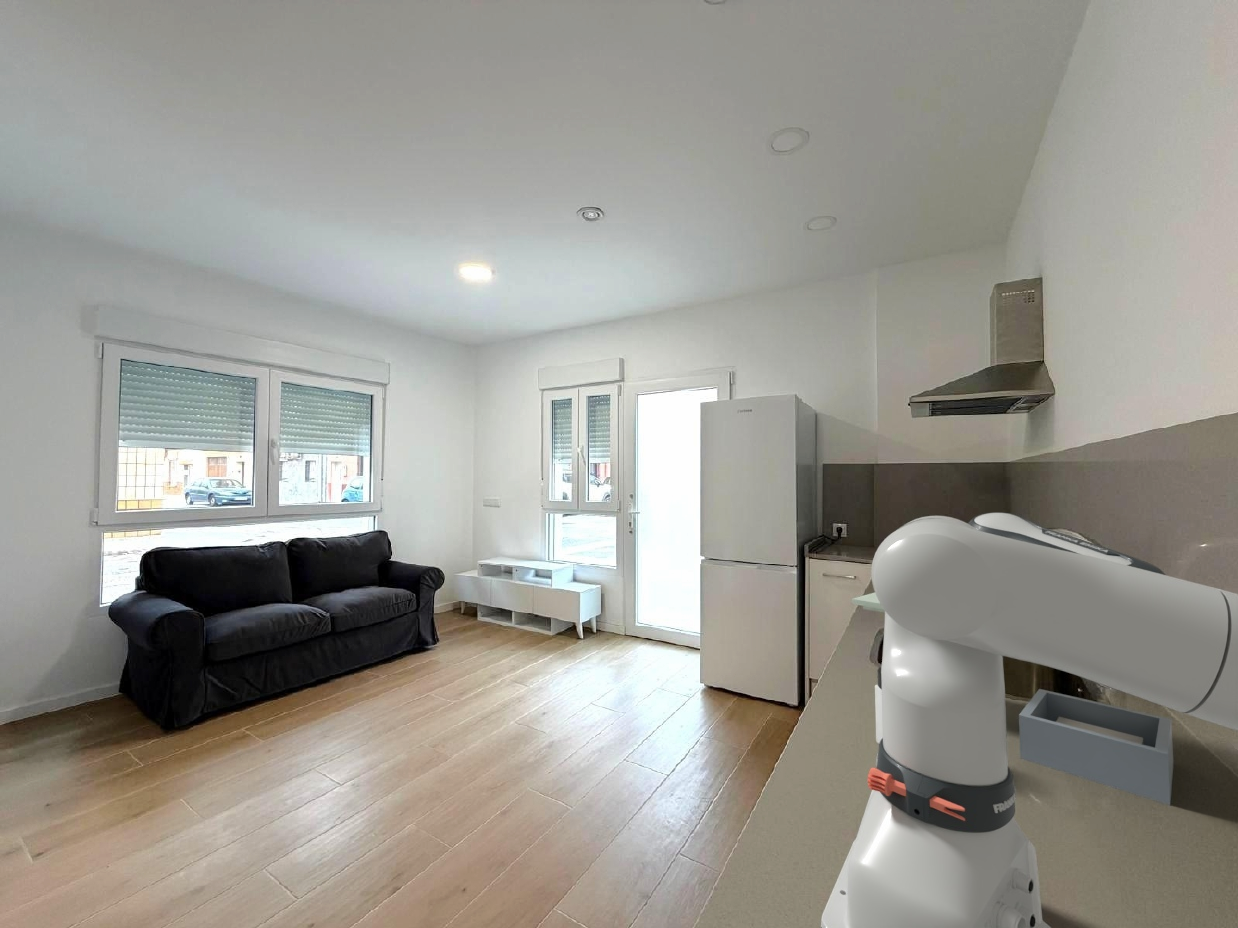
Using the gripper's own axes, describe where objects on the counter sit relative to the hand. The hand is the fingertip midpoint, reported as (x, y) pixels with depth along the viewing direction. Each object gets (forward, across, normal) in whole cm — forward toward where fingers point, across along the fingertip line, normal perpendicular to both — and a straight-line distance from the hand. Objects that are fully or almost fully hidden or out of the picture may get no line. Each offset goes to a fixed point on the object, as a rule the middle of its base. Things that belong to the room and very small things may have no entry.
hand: (903, 557), depth 106 cm
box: (-29, 0, -28) cm, 41 cm away
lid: (-1, 0, -10) cm, 11 cm away
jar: (-12, -22, -28) cm, 38 cm away
